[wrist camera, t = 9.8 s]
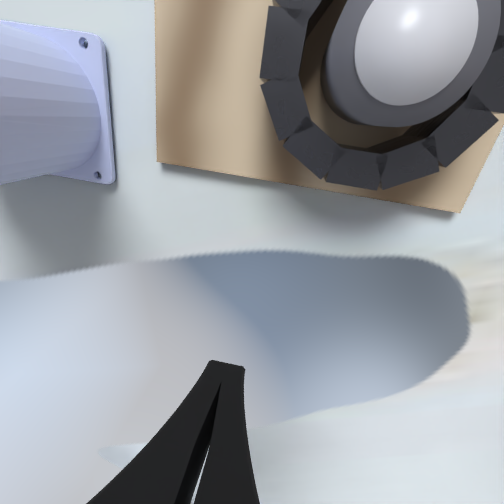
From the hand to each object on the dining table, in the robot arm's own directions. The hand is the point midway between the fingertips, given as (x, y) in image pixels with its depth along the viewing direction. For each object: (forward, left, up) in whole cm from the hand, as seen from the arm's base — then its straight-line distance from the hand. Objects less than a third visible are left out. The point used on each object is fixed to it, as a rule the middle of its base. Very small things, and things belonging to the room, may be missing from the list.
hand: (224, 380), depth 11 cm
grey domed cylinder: (+4, +12, -9) cm, 16 cm away
